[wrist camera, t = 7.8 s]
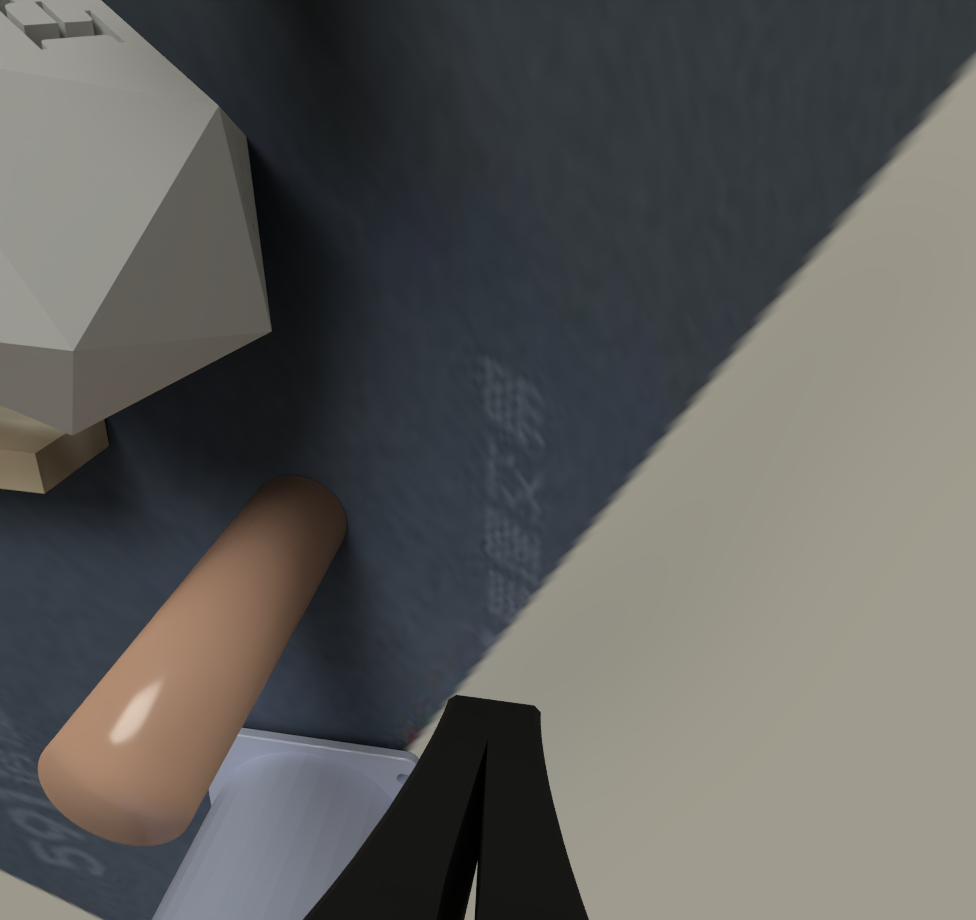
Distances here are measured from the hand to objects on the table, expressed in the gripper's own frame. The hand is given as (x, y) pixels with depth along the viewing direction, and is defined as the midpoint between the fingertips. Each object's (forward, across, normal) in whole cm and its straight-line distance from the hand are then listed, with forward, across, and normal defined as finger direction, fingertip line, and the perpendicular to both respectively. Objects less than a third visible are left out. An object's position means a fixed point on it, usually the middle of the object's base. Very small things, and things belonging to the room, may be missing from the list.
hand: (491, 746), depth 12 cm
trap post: (+10, +7, +3) cm, 13 cm away
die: (+11, +10, -6) cm, 16 cm away
